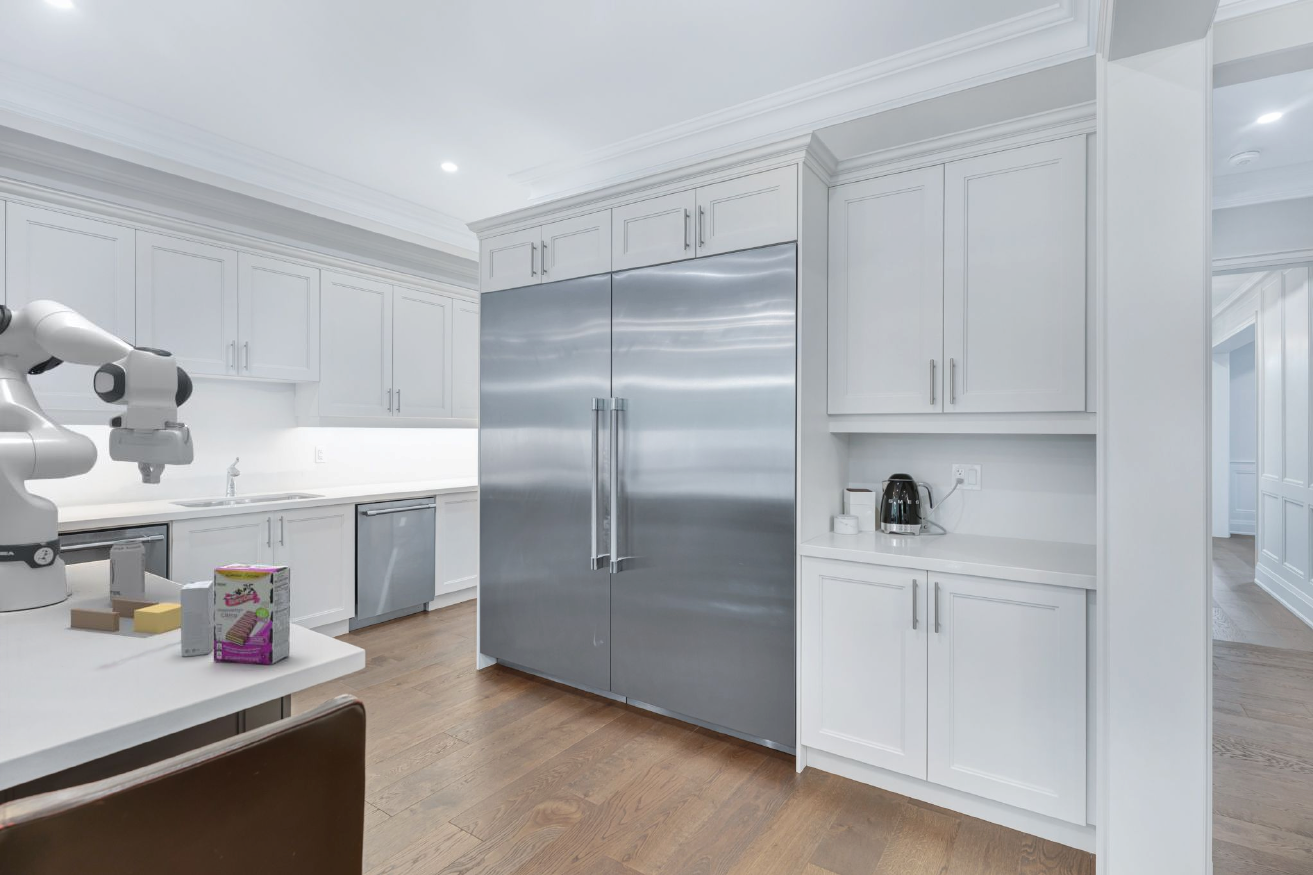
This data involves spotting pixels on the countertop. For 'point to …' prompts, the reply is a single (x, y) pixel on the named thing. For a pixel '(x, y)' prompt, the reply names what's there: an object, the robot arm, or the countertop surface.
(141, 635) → the chute
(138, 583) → the energy drink can
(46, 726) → the countertop surface
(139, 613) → the ochre block
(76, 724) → the countertop surface
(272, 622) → the candy bar box
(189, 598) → the skincare box
